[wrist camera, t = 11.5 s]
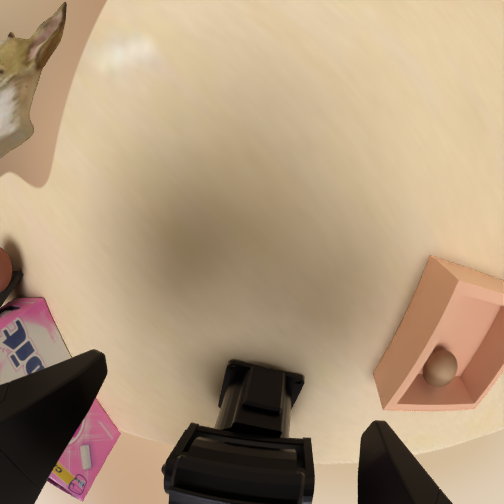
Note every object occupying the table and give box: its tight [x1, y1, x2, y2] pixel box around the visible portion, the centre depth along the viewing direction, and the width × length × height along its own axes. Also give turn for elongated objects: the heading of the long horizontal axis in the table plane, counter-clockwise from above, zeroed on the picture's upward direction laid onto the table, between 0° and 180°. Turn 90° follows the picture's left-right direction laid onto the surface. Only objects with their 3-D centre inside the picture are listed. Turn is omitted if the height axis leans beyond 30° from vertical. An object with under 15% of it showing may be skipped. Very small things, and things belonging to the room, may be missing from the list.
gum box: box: [0, 298, 120, 501], centre depth 21 cm, size 24×8×14 cm, turn 10°
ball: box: [423, 350, 458, 387], centre depth 18 cm, size 3×3×3 cm
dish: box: [373, 255, 504, 411], centre depth 17 cm, size 11×11×5 cm
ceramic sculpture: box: [0, 2, 67, 158], centre depth 13 cm, size 11×9×15 cm
